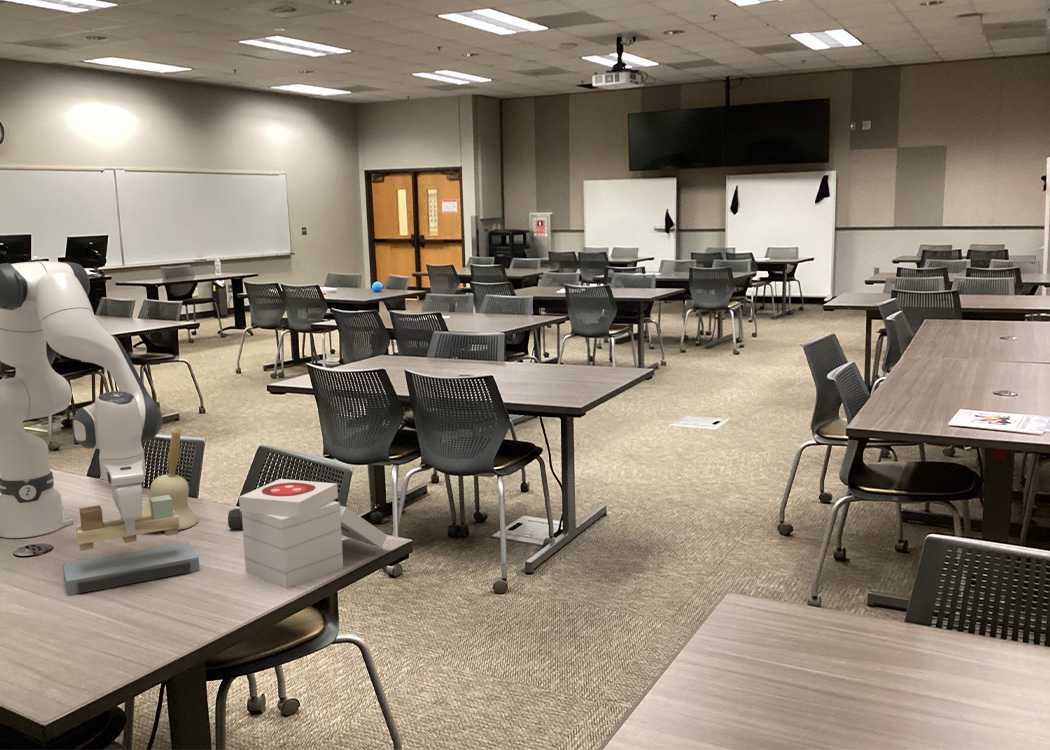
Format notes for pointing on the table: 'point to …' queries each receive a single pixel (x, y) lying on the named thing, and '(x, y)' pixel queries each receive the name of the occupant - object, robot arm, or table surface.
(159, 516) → the block
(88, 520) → the block
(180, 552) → the dock
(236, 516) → the flashlight
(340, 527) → the pizza boxes
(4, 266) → the robot arm
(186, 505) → the handbell
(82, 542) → the pallet
